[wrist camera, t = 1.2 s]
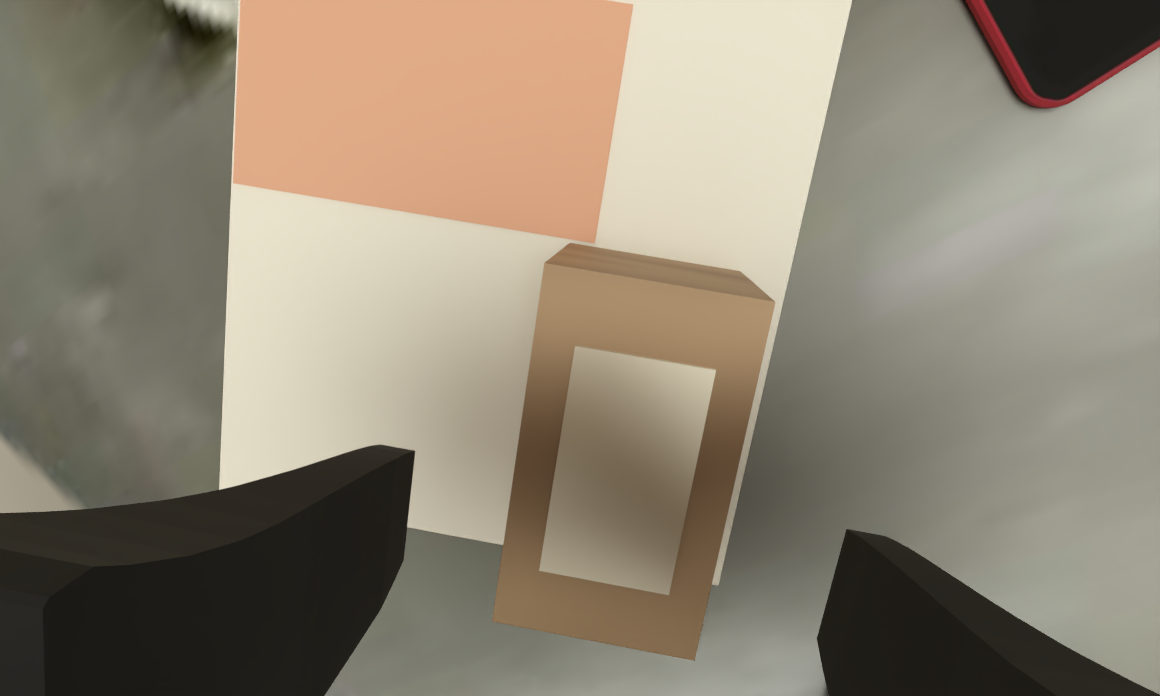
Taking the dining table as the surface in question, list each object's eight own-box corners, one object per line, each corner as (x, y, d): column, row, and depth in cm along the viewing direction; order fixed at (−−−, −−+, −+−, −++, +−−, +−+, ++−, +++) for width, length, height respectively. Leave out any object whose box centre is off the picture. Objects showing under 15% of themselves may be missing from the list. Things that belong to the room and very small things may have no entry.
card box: (682, 546, 20) (694, 663, 15) (527, 517, 20) (490, 624, 16) (740, 271, 18) (776, 302, 13) (570, 242, 19) (543, 263, 14)
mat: (716, 574, 21) (718, 587, 20) (230, 483, 22) (217, 493, 21) (858, -52, 17) (866, -61, 16) (257, -138, 18) (242, -151, 17)
